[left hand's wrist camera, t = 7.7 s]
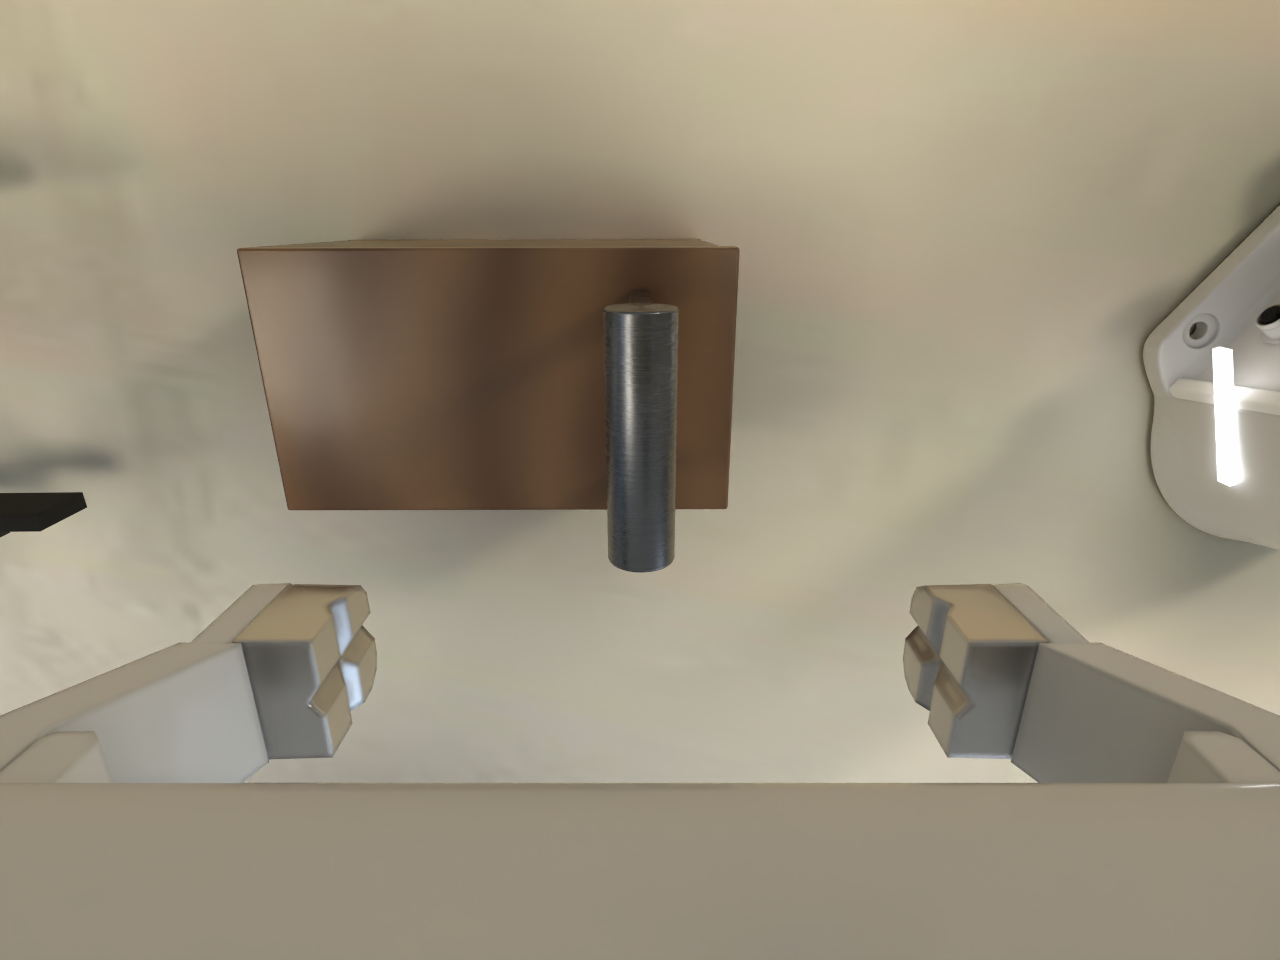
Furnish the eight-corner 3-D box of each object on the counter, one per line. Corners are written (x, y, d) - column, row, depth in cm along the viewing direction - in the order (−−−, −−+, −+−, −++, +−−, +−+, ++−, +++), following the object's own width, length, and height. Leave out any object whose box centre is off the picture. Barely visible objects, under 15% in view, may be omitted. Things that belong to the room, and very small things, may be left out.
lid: (735, 245, 24) (783, 258, 16) (724, 498, 28) (758, 610, 20) (253, 247, 24) (64, 259, 16) (300, 499, 28) (164, 612, 20)
